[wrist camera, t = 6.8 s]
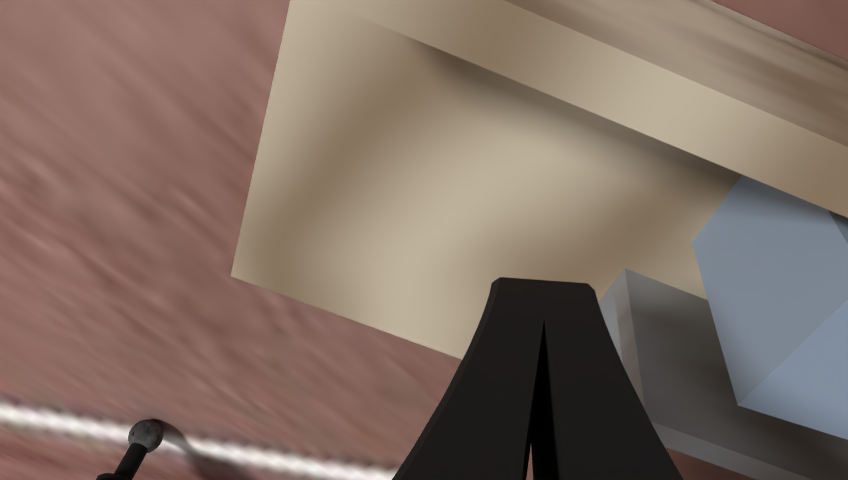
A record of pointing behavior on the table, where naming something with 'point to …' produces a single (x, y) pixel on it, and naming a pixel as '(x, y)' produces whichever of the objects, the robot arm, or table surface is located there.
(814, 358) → the grey-blue block
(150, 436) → the microphone
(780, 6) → the table surface
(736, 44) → the wooden open box
